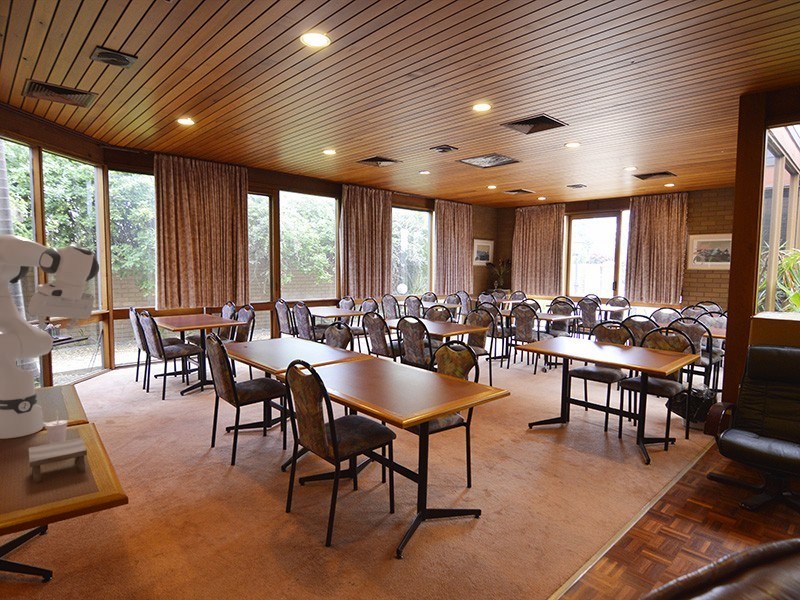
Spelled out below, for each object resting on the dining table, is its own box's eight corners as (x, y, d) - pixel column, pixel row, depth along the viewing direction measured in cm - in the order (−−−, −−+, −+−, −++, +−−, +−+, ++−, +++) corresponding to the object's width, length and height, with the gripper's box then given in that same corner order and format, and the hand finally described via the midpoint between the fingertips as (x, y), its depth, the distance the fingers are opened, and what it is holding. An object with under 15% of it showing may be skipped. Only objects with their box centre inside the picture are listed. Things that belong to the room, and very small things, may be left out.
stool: (29, 469, 149) (28, 447, 149) (82, 457, 158) (81, 437, 158) (31, 485, 138) (29, 462, 138) (87, 471, 147) (86, 450, 147)
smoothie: (57, 454, 161) (54, 414, 160) (41, 452, 162) (39, 413, 161) (73, 447, 167) (71, 408, 166) (58, 445, 169) (56, 407, 168)
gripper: (89, 292, 175) (77, 327, 175) (31, 284, 155) (18, 324, 155) (101, 296, 173) (89, 332, 173) (44, 290, 153) (31, 330, 153)
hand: (55, 328), depth 164 cm, fingers open, 8 cm apart
